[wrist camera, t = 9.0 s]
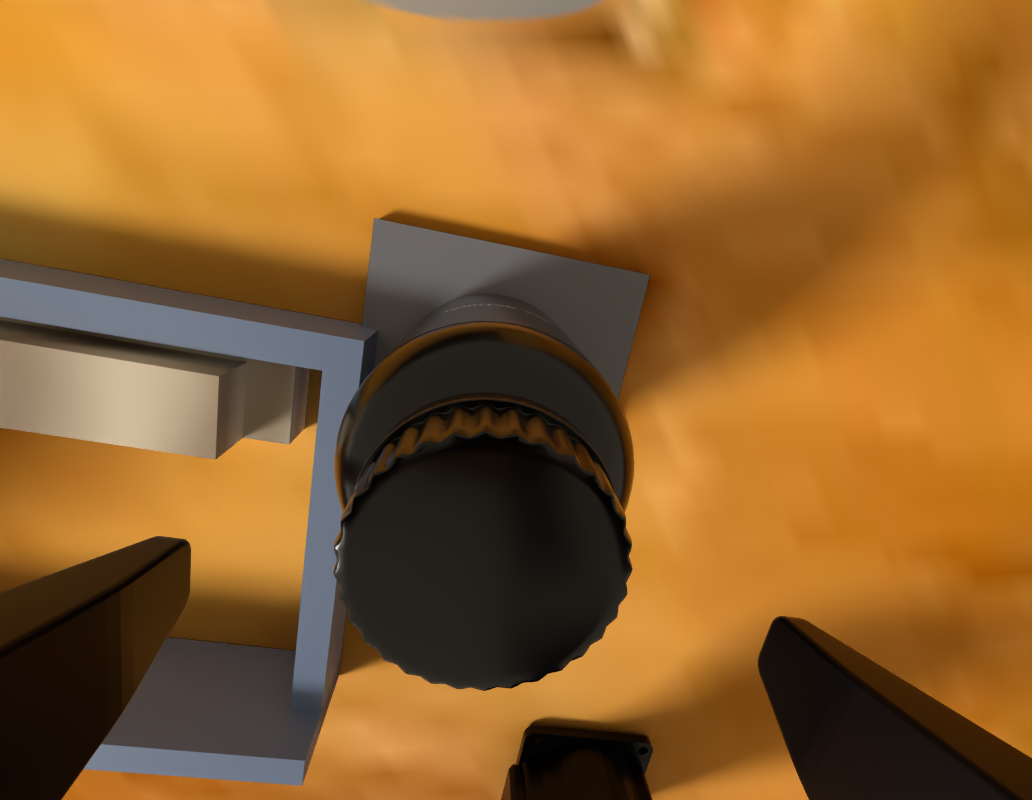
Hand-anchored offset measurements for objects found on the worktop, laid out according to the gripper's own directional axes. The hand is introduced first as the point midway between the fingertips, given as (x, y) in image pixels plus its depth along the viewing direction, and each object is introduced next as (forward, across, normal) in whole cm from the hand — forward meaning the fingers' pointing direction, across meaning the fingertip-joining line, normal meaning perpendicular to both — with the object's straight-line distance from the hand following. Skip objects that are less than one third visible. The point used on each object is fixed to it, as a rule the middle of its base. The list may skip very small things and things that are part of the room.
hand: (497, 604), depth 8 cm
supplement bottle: (+12, 0, 0) cm, 13 cm away
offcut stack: (+13, +13, +2) cm, 19 cm away
